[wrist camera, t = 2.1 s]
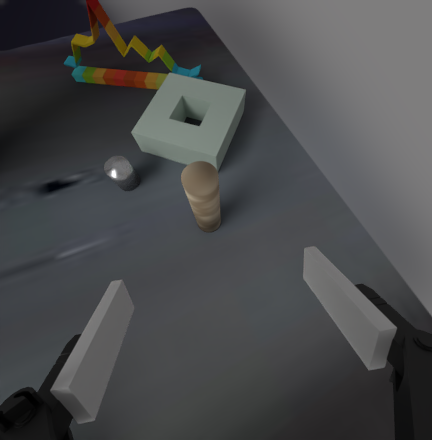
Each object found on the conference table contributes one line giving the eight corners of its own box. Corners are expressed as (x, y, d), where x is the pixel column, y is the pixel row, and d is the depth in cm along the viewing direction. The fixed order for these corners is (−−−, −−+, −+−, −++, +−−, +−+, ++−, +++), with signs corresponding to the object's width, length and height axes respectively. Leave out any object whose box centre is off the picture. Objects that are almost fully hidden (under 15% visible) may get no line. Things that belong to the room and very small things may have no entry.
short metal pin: (115, 187, 38) (99, 172, 34) (125, 170, 39) (112, 153, 35) (133, 193, 38) (120, 179, 33) (143, 176, 39) (132, 159, 34)
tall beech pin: (193, 227, 35) (175, 186, 22) (202, 207, 36) (189, 156, 23) (215, 235, 34) (210, 198, 21) (224, 214, 35) (223, 166, 22)
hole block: (141, 151, 41) (131, 132, 36) (175, 95, 46) (169, 72, 41) (217, 173, 38) (216, 156, 34) (243, 112, 43) (246, 89, 39)
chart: (203, 84, 47) (194, -6, 33) (201, 94, 46) (190, 6, 32) (82, 73, 50) (26, -14, 36) (77, 82, 49) (17, -3, 35)
